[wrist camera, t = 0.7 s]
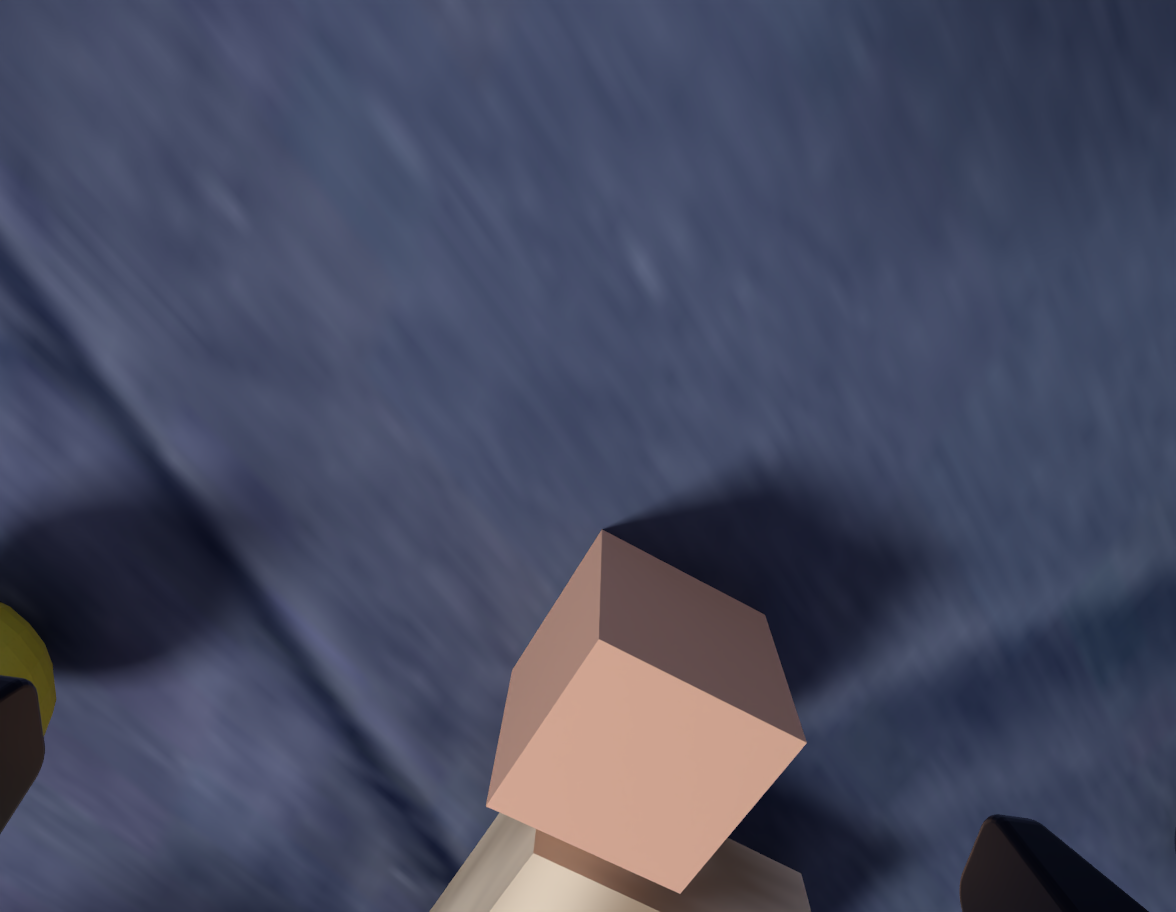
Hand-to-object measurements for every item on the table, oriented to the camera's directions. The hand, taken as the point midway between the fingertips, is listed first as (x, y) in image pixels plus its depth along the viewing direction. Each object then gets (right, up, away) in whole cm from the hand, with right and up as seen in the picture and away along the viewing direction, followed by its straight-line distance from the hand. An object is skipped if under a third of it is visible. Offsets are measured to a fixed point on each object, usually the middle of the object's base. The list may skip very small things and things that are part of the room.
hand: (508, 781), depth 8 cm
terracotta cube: (+2, -2, +14) cm, 15 cm away
